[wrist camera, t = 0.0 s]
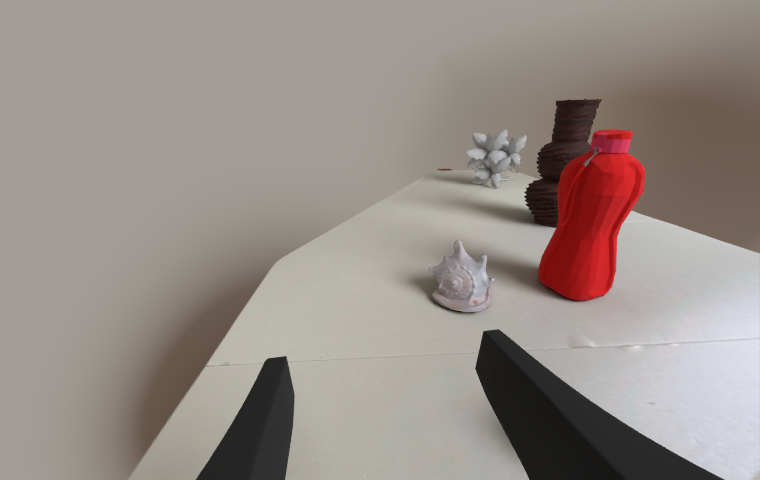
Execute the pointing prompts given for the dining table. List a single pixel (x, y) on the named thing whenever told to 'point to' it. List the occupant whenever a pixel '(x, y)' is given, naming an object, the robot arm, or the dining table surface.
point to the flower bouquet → (494, 156)
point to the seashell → (462, 282)
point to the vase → (560, 156)
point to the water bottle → (592, 217)
